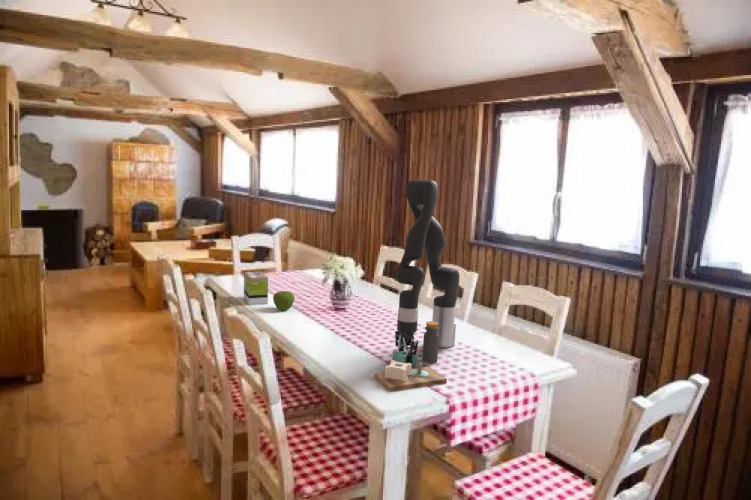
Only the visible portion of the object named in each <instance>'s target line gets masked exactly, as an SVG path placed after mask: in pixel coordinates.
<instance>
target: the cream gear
mask: <svg viewBox="0 0 751 500" xmlns="http://www.w3.org/2000/svg"><path fill="white" fill-rule="evenodd" d="M397 365H400V366H401V367H398V366H397ZM412 367H413V366H412V364H411V363H401V362H396V361H394V360H392V359H391V360H390V363H389V365H385V366H384V372H385V378H386V379H388V378H393V379H398V380H401V381H403V382H404V381H406V380H407V376H409V375H411V369H413V368H412Z"/></svg>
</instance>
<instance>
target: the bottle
mask: <svg viewBox="0 0 751 500" xmlns="http://www.w3.org/2000/svg"><path fill="white" fill-rule="evenodd" d="M425 324H426V326H425V327H424V329H425V330H426V331H425V332H424V333H423V340H422V341H423V343H422V344H423V345H422V357H421V360H422V361H423V362H424V363H428V364H434V363H437V362H438V356H439V347H438V345H439V334H438V333H437V331H438V330H439V328H438V323H437V322H433V321H432V320H431V321H430V320H428V321H426V323H425Z"/></svg>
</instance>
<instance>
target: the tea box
mask: <svg viewBox="0 0 751 500" xmlns="http://www.w3.org/2000/svg"><path fill="white" fill-rule="evenodd" d="M243 299H244V300H245V301H246V302H247V304H248V306H257V305H260V306H261V305H268V303H269V277H268V276H267V275H266V274H265V273H264V272H263V271H244V272H243Z"/></svg>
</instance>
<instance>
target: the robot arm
mask: <svg viewBox="0 0 751 500" xmlns="http://www.w3.org/2000/svg"><path fill="white" fill-rule="evenodd" d="M405 194H406V198H407V202H408V204H409V207H410V209H411V212H412V213H413V214H412V215H413V217H414V219H415V220H414V221H415V222H414V224H413V225H412V226H411V228H410V229H409V230H408V233H407V236H406V240H405V246H404V253H403V255H402V257H401V261H400V262H399V264H398V267H397V268H396V272H395V279H396V281H397V282H398V283H399V284H401V285H408V286H412V288H410V289H405V290H402V291H400V293H399V303H398V308H397V309H398V310H397V318H396V319H397V321H396V323H397V324H396V330H395V332H394V337H395V338H394V339H395V340H394V341H395V342H394V343H395V344H394V345H395V347H397V350H398V351H406V354H407V355H406V363H411V364H412V356H413V355H417V351H418V347H419V340H418V339H416V340H415V336H414V334H415V333H416V332H417V331H418V320H419V297H420V292H421V289H422V287H423V283H424V281H425V278H426V277H425V276H426V275H425V270H424V269H423V267H420V266H416V265H415V266H414V265H411V263H412V262H413V261H420V260H422V259H423V256H424V253H425V256H426V261H427V264H428V265H427V266H428V271H429V277H430V281H431V284H432V286H433V287H435V288H437V289H442V290H445V291H444V294H443V295H438V296H435V297H434V298H433V304H432V306H433V307H432V320H431V321H433V322H437V323H438V328H439V330H438V331H437V333H438V334H439V345H438V348H443V349H445V348H451V347H452V346H455V343H456V342H455V341H456V329H457V328H456V327H457V324H456V322H455V318H456V317H455V315H456V314H455V313H456V303H457V300H458V295H459V294H458V293H459V292H458V291H459V285H460V273H459V270H458V269H457V268H452V267H447V266H443V264H442V262H441V255H442V254H443V251H444V250H445V247H446V243H447V242H446V238H445V232H444V229H443V227H442V225H441V224H440V223H439V221H438V220H437V219H436V218H435V217H434V216H433V214H434V211H435V208H436V204H437V201H438V196H439V186H438V183H437V182H436V181H434V180H432V179H411V180H409V181H408V182H407V183H406V187H405Z"/></svg>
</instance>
